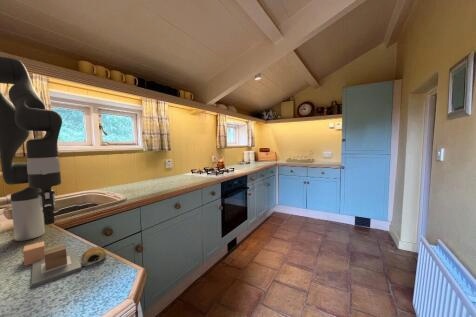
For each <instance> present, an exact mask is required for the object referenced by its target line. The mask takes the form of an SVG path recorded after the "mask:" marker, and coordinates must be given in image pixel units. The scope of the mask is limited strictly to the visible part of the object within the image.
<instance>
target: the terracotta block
mask: <svg viewBox="0 0 476 317" xmlns="http://www.w3.org/2000/svg"><path fill="white" fill-rule="evenodd" d="M45 246H46V245H45V241H44V240H43V241H40V242H36V243H32V244H28V245H25V246H24V247H23V251H22V252H23V261H24V262H23V263H24V266H28V265H33V262H34V261H37V260H41V259H44V258H45V256H44V249H46V247H45Z"/></svg>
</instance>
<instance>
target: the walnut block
mask: <svg viewBox="0 0 476 317" xmlns="http://www.w3.org/2000/svg"><path fill="white" fill-rule="evenodd" d="M66 252H67V247H66V244H65V243H62V244H57V245H55V246H51V247H48V248H45V249H44V256H45V266H46V270H49V269H52V268H55V267H58V266H61V265H64V264H67V255H66Z"/></svg>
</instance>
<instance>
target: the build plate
mask: <svg viewBox="0 0 476 317" xmlns="http://www.w3.org/2000/svg"><path fill="white" fill-rule="evenodd" d="M66 255H67V264H64V265H61V266H58V267H55V268H52V269H49V270H46V266H45V258H44V259H41V260H37V261H34V262H33V263H32V267H31V268H32V270H31V281H30V282H31V283H30V286H31V289H33V288H36V287H38V286H41V285H44V284H46V283H49V282H53V281H54V280H57V279H60V278H63V277H66V276H68V275H71V274H74V273H77V272H79V271H82V264H81V262H80V261H81V260H80V259H79V255H78V253H77V250H76V249H71V250H68V251H67V250H66Z"/></svg>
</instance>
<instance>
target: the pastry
mask: <svg viewBox="0 0 476 317" xmlns="http://www.w3.org/2000/svg"><path fill="white" fill-rule="evenodd" d="M106 255H107V254H106V251H105V249H104V248H102V247H100V246H96V247H90V248H89V249H87V250H86V251H84V252H83V254H82V256H81V260H80V261H81V262H80V264H81V266H83V267H87V266H91V265H93V264H96V263H100V262H102V261H103V260H104V259H105V258H106Z"/></svg>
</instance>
